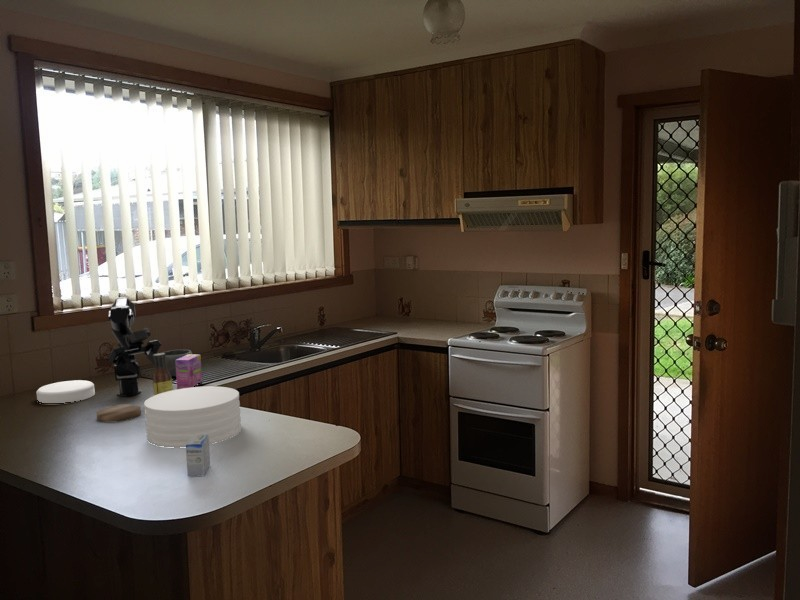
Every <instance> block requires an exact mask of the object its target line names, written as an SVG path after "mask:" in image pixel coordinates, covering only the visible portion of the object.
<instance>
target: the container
mask: <svg viewBox="0 0 800 600" xmlns="http://www.w3.org/2000/svg"><path fill="white" fill-rule="evenodd" d="M35 392H36V401H37V400H38V401H39V402H42V403H64V404H66V403H65V402H71V403H75V402H74V401H76V402H80V400H81V401H84V400H87V399H90V398H92V397H94V396H95V394H96V392H95V384H94V383H93V382H92V381H89V380H82V379H77V380H76V379H74V380H66V381H57V382H54V383H49V384H45V385H42V386H41V387H39V388H38V389H37V390H36V391H35ZM38 401H37V402H38Z"/></svg>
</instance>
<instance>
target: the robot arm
mask: <svg viewBox="0 0 800 600" xmlns="http://www.w3.org/2000/svg"><path fill="white" fill-rule="evenodd" d="M135 305H136V304H135V303H134V302H132V301H131V300H130V298H129V297H127V296H123V297H115V299H114V303H113V304H112V305H111V307H110V310H109V311H108V321H109V322H110V324H111V333H112V334H113V335H114V337H115V338H116V340H117V342H118V345H117V346H118V347H115V348H113V349H112V350H111V352H110V353H109V356H107V357H108V358H107V359H108V361H109V363H110V364H111V365H114V366H113V368H114V378H115V381H116V382H117V381H118V386H119V389H118V390H119V393H116V396H119V397H127V398H129V397H132V396H135V395H138V394H141V393H142V391H140V390H139V382H138V379H140V378H142V372H141V371H142V370H141V366H140V365H139V363H138V362H137V361H136V360H137V359H136V356H135V355H137V354H144V355H145V356H146V359H148V361H149V362H150V363H151V364H152V365H153V366H154V367H155V362H154V359H153V355H154V354H158V351H159V349H160V348H161V346H162V343H161V342H160V341H159V340H158V339H154V340H150V341H148V342H147V343H146V344H145V345H144V343H145V340H146V339H148V338H149V337H151V330H150V329H149V328H148V327H145V328H142V329H141V330H136V331H132V329H131V328H132V325H134V323H135V318H136V315H137V313H136V306H135ZM142 345H144V346H142Z"/></svg>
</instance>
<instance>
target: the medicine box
mask: <svg viewBox="0 0 800 600" xmlns="http://www.w3.org/2000/svg"><path fill="white" fill-rule="evenodd" d="M210 455H211V454H210V445H209V438H208V435H193V436H192V437H191V438H190V440H189V441H188V443H187V444H186V448H185V457H186V459H185V460H186V471H187V477H188V476H195V477H199V476H198V475H204V476H206V473H207V471H208V469H209V467H210V465H211V457H210Z"/></svg>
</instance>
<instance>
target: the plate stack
mask: <svg viewBox="0 0 800 600" xmlns="http://www.w3.org/2000/svg"><path fill="white" fill-rule="evenodd" d="M240 402H241V401H240V392H239V391H238V390H237V389H235V388H232V387H225V386H211V385H209V386H207V385H206V386H195V387H191V388H183V389H177V388H176V389H173V390H172V391H168V392H164V393H160V394H157V395H155V396H154V395H152V396H150V397H149V398H147V399H146V400H145V401H144V403H143V404H144V405H143V406H144V416H145V426H146V428H145V432H146V434H147V435H146V440H148V441H149V442H150V443H152V444H155V445H157V446H164V447H174V448H178V449H181V448H180V447H186V444H187V443H188V441H189V440H190V438H191V437H192V436H193V435H208V438H209V444H211V445H213V444H212V443H215V442H219V441H222V440H225V439H228V438H230V437H232V436H234V435H236V434H237V433H238V434H240V433H241V431H242V418H241V408H240V406H241V403H240ZM239 432H240V433H239ZM238 434H237V435H238ZM237 435H236V436H237ZM234 437H235V436H234ZM232 438H233V437H232ZM230 439H231V438H230ZM228 440H229V439H228ZM148 441H147V442H148ZM225 441H226V440H225ZM222 442H223V441H222ZM219 443H220V442H219ZM215 444H216V443H215ZM174 448H173V449H174Z"/></svg>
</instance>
